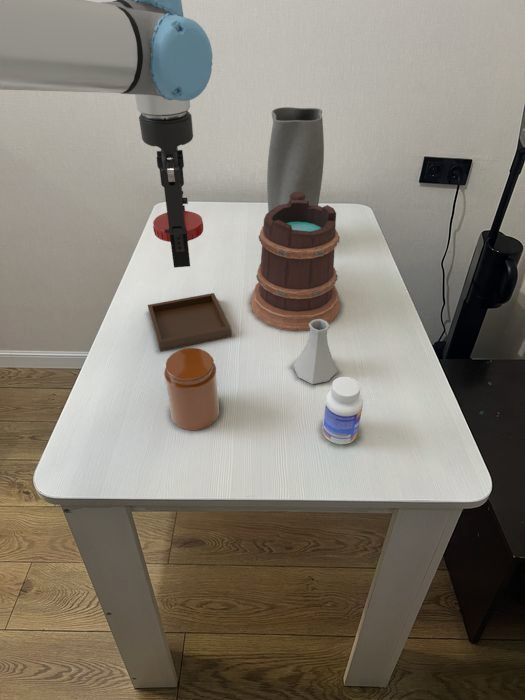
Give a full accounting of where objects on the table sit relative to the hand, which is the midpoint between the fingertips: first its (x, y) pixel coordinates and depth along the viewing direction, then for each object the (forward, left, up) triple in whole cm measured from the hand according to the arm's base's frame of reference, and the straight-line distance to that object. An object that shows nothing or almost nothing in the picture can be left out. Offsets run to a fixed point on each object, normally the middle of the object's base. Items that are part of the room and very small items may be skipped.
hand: (181, 252), depth 85 cm
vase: (+31, +24, -16) cm, 42 cm away
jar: (-4, -23, -16) cm, 28 cm away
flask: (+18, -20, -16) cm, 31 cm away
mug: (+23, +2, -16) cm, 28 cm away
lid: (0, 0, +6) cm, 6 cm away
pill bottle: (+16, -34, -16) cm, 41 cm away
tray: (0, 0, -16) cm, 16 cm away
